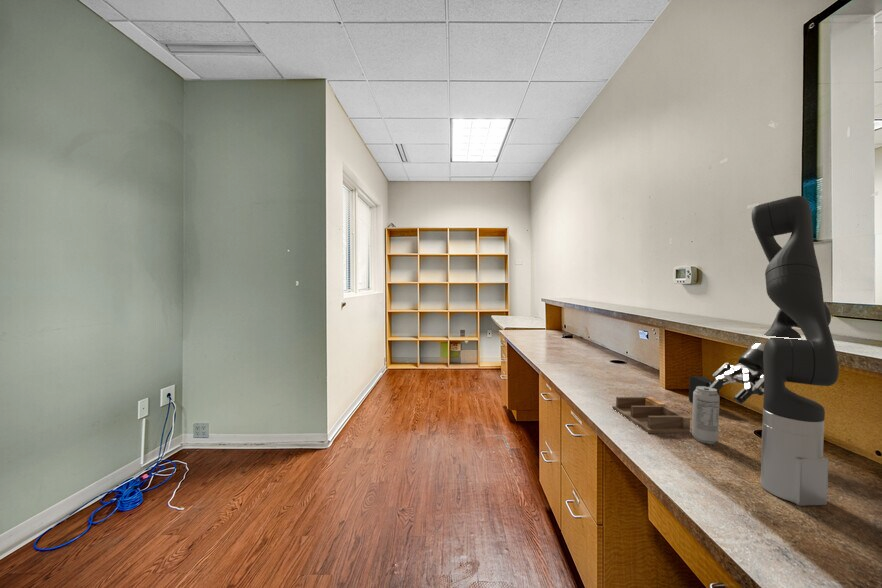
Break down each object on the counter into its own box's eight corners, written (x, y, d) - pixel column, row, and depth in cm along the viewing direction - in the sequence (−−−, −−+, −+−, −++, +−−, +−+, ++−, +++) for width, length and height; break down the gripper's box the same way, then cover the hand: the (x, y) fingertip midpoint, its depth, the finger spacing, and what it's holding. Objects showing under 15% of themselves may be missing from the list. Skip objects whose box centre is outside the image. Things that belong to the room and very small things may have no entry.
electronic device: (700, 401, 132) (701, 375, 132) (718, 411, 123) (719, 383, 122) (688, 401, 133) (689, 375, 133) (705, 410, 123) (706, 382, 123)
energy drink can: (716, 438, 101) (718, 387, 100) (719, 446, 96) (721, 393, 95) (691, 433, 104) (692, 384, 103) (692, 441, 99) (694, 389, 98)
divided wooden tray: (689, 432, 105) (690, 416, 105) (648, 433, 104) (648, 417, 104) (647, 408, 125) (647, 395, 125) (612, 408, 124) (612, 395, 124)
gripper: (733, 342, 107) (695, 379, 106) (780, 352, 92) (737, 395, 92) (748, 359, 107) (711, 396, 107) (798, 371, 93) (755, 414, 93)
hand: (723, 395), depth 100 cm, fingers open, 8 cm apart
